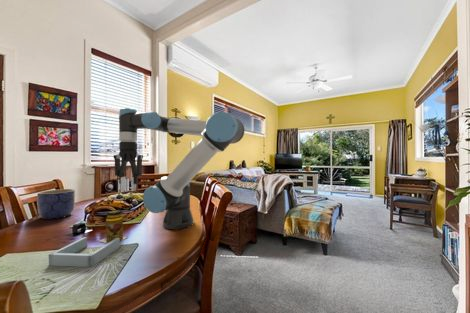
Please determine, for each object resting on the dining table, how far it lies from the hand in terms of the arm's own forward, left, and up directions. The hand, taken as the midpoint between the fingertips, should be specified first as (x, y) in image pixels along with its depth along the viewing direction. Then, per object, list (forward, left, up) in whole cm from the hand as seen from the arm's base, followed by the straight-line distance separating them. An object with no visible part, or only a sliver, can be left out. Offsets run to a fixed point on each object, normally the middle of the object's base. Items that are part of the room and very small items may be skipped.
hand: (128, 190), depth 97 cm
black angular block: (+21, +4, -19) cm, 29 cm away
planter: (+55, -19, -19) cm, 61 cm away
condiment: (0, +11, -19) cm, 22 cm away
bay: (0, +25, -19) cm, 31 cm away
